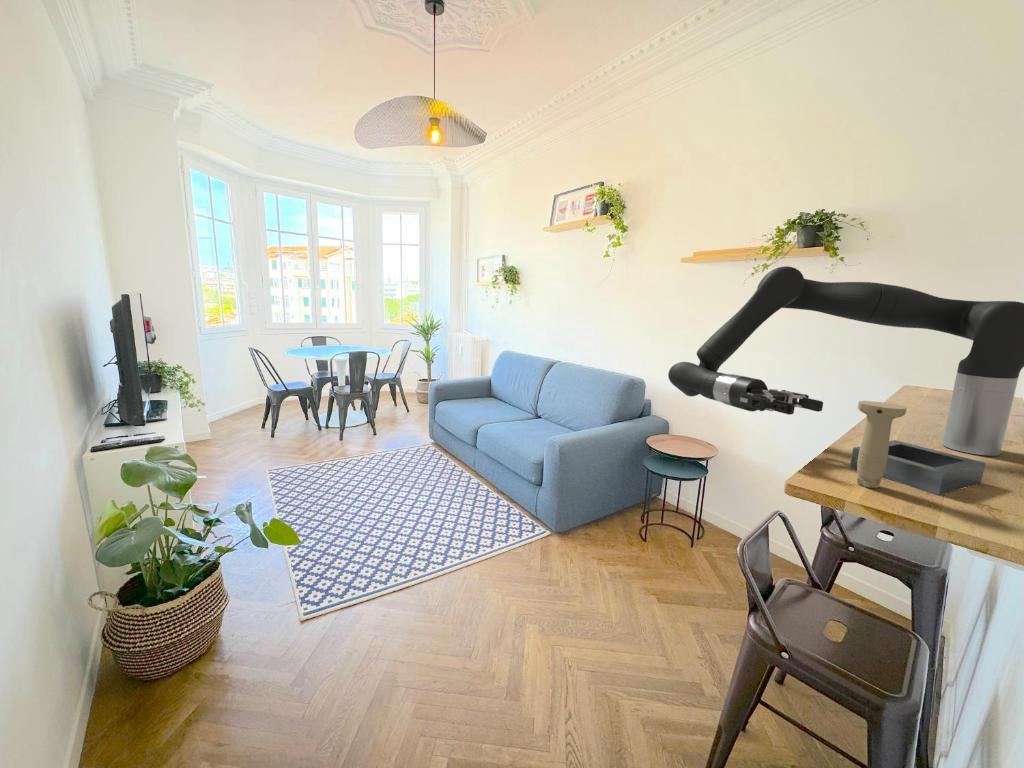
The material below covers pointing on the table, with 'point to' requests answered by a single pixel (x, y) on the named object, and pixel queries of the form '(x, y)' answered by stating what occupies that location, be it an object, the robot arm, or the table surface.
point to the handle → (875, 440)
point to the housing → (928, 468)
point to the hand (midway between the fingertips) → (807, 408)
